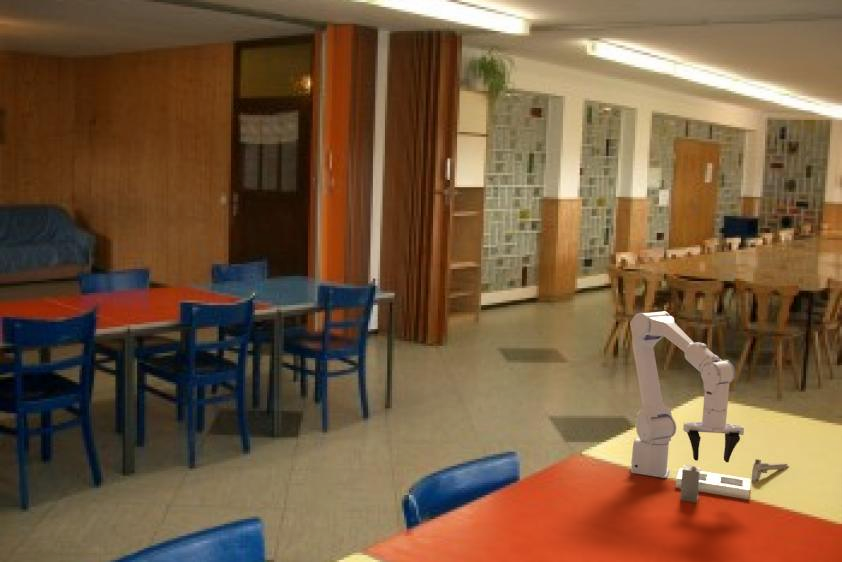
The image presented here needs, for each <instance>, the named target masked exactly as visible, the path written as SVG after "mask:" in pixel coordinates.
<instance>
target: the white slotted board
mask: <svg viewBox="0 0 842 562" xmlns="http://www.w3.org/2000/svg"><path fill="white" fill-rule="evenodd" d="M682 470H683V467H680V468H679V470H678V473H677V476H676V479H675V489H676V488H677V489H681V483H682ZM751 481H752V478H747V477H741V476H733V475H728V474H722V473H721V474H720V473H714V472H709V471H702V470H700V479H699V492H700V493H706V494H712V495H720V496H725V497H731V498H737V499H743V500H744V499H745V500H749V499H750V489H751ZM699 492H698V493H699Z"/></svg>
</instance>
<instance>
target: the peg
mask: <svg viewBox="0 0 842 562" xmlns="http://www.w3.org/2000/svg"><path fill="white" fill-rule="evenodd" d="M682 468H683V470H682V483H681V488H680V495H679V496H680V498H679V500H680V501H684V502H689V501H690V502H689V503H695V504H697V503H698V499H699V479H700V471H701V467H700V466H695V465H690V464H689V465H688V464H683V467H682Z"/></svg>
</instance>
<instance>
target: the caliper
mask: <svg viewBox="0 0 842 562" xmlns="http://www.w3.org/2000/svg"><path fill="white" fill-rule="evenodd" d="M787 468H790V466H789V465H788V463H784V462H780V463H779V462H778V463H768V462H762V459H759V458H757V459H755V461H754V463H753V467H752V471H751V472H752V473H751V482H754V483H756V482H759V481H760V480H761V477H762V474H768V471H774V470H775V471H776V470H786V469H787Z"/></svg>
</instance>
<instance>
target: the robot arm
mask: <svg viewBox="0 0 842 562" xmlns="http://www.w3.org/2000/svg"><path fill="white" fill-rule="evenodd" d="M629 325H630V332H631V338H632V340H631V346H632V352H633V357H634V361H635V362H634V363H635V369H636V375H637V381H638V385H639V391H640V397H641V402H642V403H641V404H642V408H641V409H640V410H639V411H638V412H637V413H636V415H635V416H636V424H635V425H636V427H635V428H636V429H635V430H636V434H637V436H638V437H635V438H634V440H633V444H632V445H633V446H632V452H631V453H632V454H631V467H630V473H631V474H637V475H643V476H650V477H656V478H662V479H667V477H668V474H669V473H670V468H669V467H668V458H669V445H670V442H672V438H673V437H674V436H675V435H676V433H677V423H676V420H675V419H674V417H673V415H672V410H671V409H670V408H669V407H668V406H666V405H665V404H664V401H663V396H662V390H661V386H660V385H661V384H660V380H659V379H660V378H659V374H658V368H657V367H658V366H657V363H656V356H655V349H654V347H655V346H656V344H657V343H658V342H659V341H660V340H661V339H662V338H664V337H665V338H666V339H667V340H669V341H670V342H671V343H672V344H674V345H675V346H676V347H677V348H679V349H680V351H683V352H684V358H685V360H686V361H687V362H688V363H689V364H691V366H693V367H694V368H695V369H696V370H697V371H698V372H700V376H701V380H702V381H703V382H702V383H703V385H702V386H703V389H704V394H703V395H704V396H703V407H702V408H703V409H702V421H696V422H694V421H693V422H683V428H682V429H683V431H684V432H685V433H686V434H687V436H688V438H689V442H690V444H691V445H690V446H691V450H692V457H693V460H694V461H696V462H697V461H699V455H700V454H699V453H700V452H699V450H700V449H699V448H700V445H701V438H702V437H701V436H700V433H714V434H724V452H723V461H725V463H729V462H730V458H731V456H732V454H733V451H734V449H735V448H736V446H737V444H738V443H739V442H740V441H741V437H740V436H744V435H745V434H744V432H745V427H744V426H743V425H741V424H740V425H739V424H732V423H731V424H730V423H727V415H728V414H727V413H728V403H729V394H730V393H729V392H730V383H732V382H733V381H734V380H735V377H736V368H735V366H734V365H733V364H732V362H731V361H730V360H729V359H721V358H720V357H719V356H718V355H716V354H714V353H713V352H712V351H711V350H710V349H709V347H707V344H706V343H704V342H703V343H702V342H700V341H698V342H694V341H693V340H692V339H691V337H689V336H688V335H687V334H686V333H685V332H684V331H683V330H682V328H680V327H679V326H678V325H677V323H676V322H675V317H673V316H671V315H670V313H668V312H667V311H663V310H662V311H661V310H660V311H654V312H637V313H636V314H635V315H634V316H633V317H632V319H631V320H630V323H629Z"/></svg>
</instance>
